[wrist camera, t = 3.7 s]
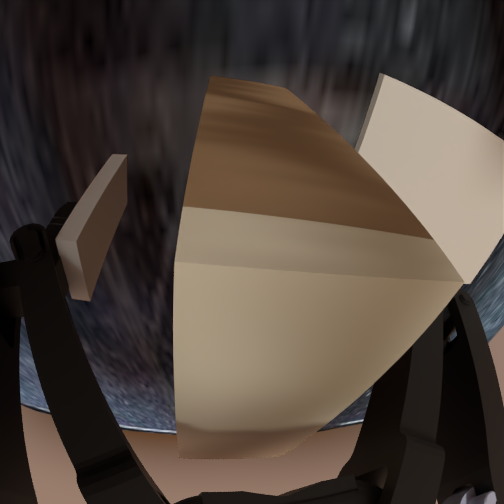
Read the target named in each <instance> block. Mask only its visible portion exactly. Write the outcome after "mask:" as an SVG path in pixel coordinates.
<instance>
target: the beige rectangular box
mask: <svg viewBox="0 0 504 504" xmlns="http://www.w3.org/2000/svg"><path fill="white" fill-rule="evenodd" d="M463 283H464V281H463V279H462V278H461V276H460V275H459V273H458V272H457V270H456V269H455V268H454V266H453V265H452V263H451V262H450V260H449V259H448V258H447V256H446V255H445V254H444V252H443V251H442V249H441V248H440V247H439V245H438V244H437V243H436V241H435V240H434V239H433V238H432V236H431V235H430V234H429V232H428V231H427V230H426V229H425V227H424V226H423V225H422V224H421V222H420V221H419V220H418V219H417V217H416V216H415V215H414V214H413V213H412V211H411V210H410V209H409V208H408V207H407V205H406V204H405V203H404V202H403V201H402V200H401V198H400V197H399V196H398V195H397V194H396V193H395V192H394V190H393V189H392V188H391V187H390V186H389V185H388V184H387V183H386V182H385V181H384V179H383V178H382V177H381V176H380V175H379V174H378V173H377V172H376V171H375V170H374V169H373V168H372V167H371V166H370V165H369V164H368V162H367V161H366V160H365V159H364V158H363V157H362V156H361V155H360V154H359V153H358V152H357V151H356V150H355V149H354V148H353V147H352V146H351V145H350V144H349V143H348V142H346V141H345V140H344V139H343V138H342V137H341V136H340V135H339V134H338V133H337V132H336V131H335V130H334V129H333V128H332V127H331V126H329V125H328V124H327V123H326V122H325V121H324V120H323V119H322V118H321V117H319V116H318V115H317V114H316V113H315V112H314V111H313V110H312V109H310V108H309V107H308V106H307V105H306V104H305V103H303V102H302V101H301V100H300V99H299V98H297V97H296V96H295V95H294V94H293V93H291V92H290V91H289V90H288V89H286V88H283V87H278V86H273V85H268V84H263V83H257V82H251V81H245V80H239V79H233V78H226V77H218V76H210V80H209V84H208V88H207V92H206V96H205V100H204V104H203V108H202V113H201V117H200V121H199V126H198V130H197V135H196V140H195V145H194V149H193V154H192V159H191V164H190V170H189V175H188V180H187V186H186V191H185V197H184V203H183V209H182V215H181V221H180V227H179V234H178V241H177V247H176V255H175V263H174V296H173V359H174V391H175V412H176V428H177V441H178V453H179V458H188V459H244V458H263V457H276V456H283V455H284V454H285V453H287V452H289V451H290V450H291V449H293V448H294V447H296V446H297V445H299V444H300V443H302V442H303V441H304V440H306V439H307V438H308V437H310V436H311V435H312V434H314V433H315V432H316V431H318V430H319V429H320V428H322V427H323V426H324V425H326V424H327V423H328V422H329V421H331V420H332V419H333V418H334V417H336V416H337V415H338V414H339V413H341V412H342V411H343V410H344V409H345V408H347V407H348V406H349V405H350V404H351V403H352V402H354V401H355V400H356V399H357V398H358V397H359V396H360V395H362V394H363V393H364V392H365V391H366V390H367V389H368V388H369V387H370V386H372V385H373V384H374V383H375V382H376V381H377V380H378V379H379V378H380V377H381V376H382V375H383V374H384V373H385V372H386V371H387V370H388V369H389V368H390V367H391V366H392V365H393V364H394V363H395V362H396V361H397V360H398V359H399V358H400V357H401V356H402V355H403V354H404V353H405V352H406V351H407V350H408V349H409V348H410V347H411V346H412V345H413V344H414V343H415V341H416V340H417V339H418V338H419V337H420V336H421V335H422V334H423V333H424V331H425V330H426V329H427V328H428V327H429V326H430V325H431V323H432V322H433V321H434V320H435V319H436V318H437V316H438V315H439V314H440V313H441V311H442V310H443V309H444V308H445V307H446V305H447V304H448V303H449V302H450V300H451V299H452V298H453V296H454V295H455V294H456V293H457V291H458V290H459V289H460V287H461V286H462V285H463Z"/></svg>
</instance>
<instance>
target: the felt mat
mask: <svg viewBox="0 0 504 504" xmlns="http://www.w3.org/2000/svg"><path fill="white" fill-rule="evenodd" d="M355 150H356V151H357V152H358V153H359V154H360V155H361V156H362V157H363V158H364V159H365V160H366V161H367V162H368V164H369V165H370V166H371V167H372V168H373V169H374V170H375V171H376V172H377V173H378V174H379V175H380V176H381V177H382V178H383V179H384V181H385V182H386V183H387V184H388V185H389V186H390V187H391V188H392V189H393V190H394V192H395V193H396V194H397V195H398V196H399V197H400V198H401V200H402V201H403V202H404V203H405V204H406V205H407V207H408V208H409V209H410V210H411V211H412V213H413V214H414V215H415V216H416V217H417V219H418V220H419V221H420V222H421V224H422V225H423V226H424V227H425V229H426V230H427V231H428V232H429V234H430V235H431V236H432V238H433V239H434V240H435V241H436V243H437V244H438V245H439V247H440V248H441V249H442V251H443V252H444V254H445V255H446V256H447V258H448V259H449V260H450V262H451V263H452V265H453V266H454V268H455V269H456V270H457V272H458V273H459V275H460V276H461V278H462V279H463V281H464V283H463V284H470V283H471V281H472V280H473V279H474V277H475V276H476V275H477V273H478V272H479V270H480V269H481V267H482V266H483V265H484V263H485V262H486V260H487V259H488V257H489V256H490V254H491V253H492V251H493V250H494V248H495V247H496V245H497V243H498V242H499V240H500V239H501V237H502V235H503V234H504V141H503V140H502V139H500V138H499V137H498V136H496V135H495V134H493V133H492V132H490V131H489V130H487V129H486V128H484V127H483V126H481V125H480V124H478V123H477V122H475V121H473V120H472V119H470V118H469V117H467V116H465V115H464V114H462V113H460V112H459V111H457V110H455V109H453V108H452V107H450V106H448V105H446V104H444V103H443V102H441V101H439V100H437V99H435V98H433V97H431V96H429V95H427V94H425V93H423V92H421V91H419V90H417V89H415V88H413V87H411V86H409V85H407V84H405V83H402V82H400V81H398V80H396V79H393V78H391V77H389V76H386V75H384V74H381V73H380V74H379V77H378V80H377V84H376V87H375V90H374V93H373V96H372V99H371V102H370V105H369V108H368V111H367V114H366V117H365V120H364V123H363V126H362V129H361V132H360V135H359V138H358V141H357V143H356V146H355Z"/></svg>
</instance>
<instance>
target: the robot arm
mask: <svg viewBox="0 0 504 504" xmlns="http://www.w3.org/2000/svg"><path fill="white" fill-rule="evenodd" d="M126 206H127V155H123V154H112V155H111V157H110V158H109V159H108V160H107V162H106V163H105V164H104V166H103V167H102V168H101V170H100V171H99V173H98V174H97V175H96V177H95V178H94V180H93V181H92V182H91V184H90V185H89V187H88V188H87V190H86V191H85V193H84V194H83V196H82V197H81V199H80V200H79V202H78V203H77V202H67V203H66V204H65V205H63V206H62V207H61V208H59V210H58V211H57V213H56V214H55V215H54V218H52V220H51V221H50V224H49V225H48V226H47V228H46V229H45V228H44V227H43V226H42V225H40V224H28V225H25V226H22V227H20V228H19V229H17V230H16V231H15V232H14V233H13V234H12V236H11V238H10V245H11V248H12V251H13V253H14V256H15V259H16V260H13V261H7V262H1V263H0V504H38V502H37V498H36V494H35V491H34V486H33V482H32V478H31V473H30V469H29V463H28V458H27V452H26V446H25V440H24V432H23V423H22V413H21V400H20V379H19V348H20V326H21V317H24V319H25V324H26V329H27V334H28V339H29V343H30V347H31V351H32V355H33V359H34V363H35V366H36V370H37V373H38V377H39V380H40V383H41V387H42V390H43V393H44V396H45V399H46V402H47V404H48V407H49V410H50V413H51V415H52V418H53V421H54V423H55V425H56V428H57V431H58V433H59V435H60V438H61V440H62V442H63V445H64V447H65V449H66V451H67V453H68V455H69V458H70V460H71V462H72V464H73V466H74V468H75V470H76V473H77V483H78V487H79V489H80V491H81V493H82V495H83V497H84V499H85V501H86V502H87V504H170V503H169V501H168V500H167V499H166V497H165V496H164V495H163V493H162V492H161V491H160V489H159V488H158V486H157V485H156V484H155V483H154V481H153V479H152V478H151V477H150V475H149V474H148V472H147V471H146V470H145V468H144V466H143V465H142V463H141V462H140V460H139V459H138V457H137V456H136V454H135V452H134V451H133V449H132V447H131V445H130V444H129V442H128V441H127V439H126V437H125V435H124V433H123V432H122V430H121V428H120V426H119V424H118V423H117V421H116V419H115V417H114V415H113V413H112V411H111V409H110V407H109V405H108V403H107V401H106V399H105V397H104V395H103V393H102V391H101V389H100V387H99V384H98V382H97V380H96V378H95V376H94V373H93V371H92V369H91V366H90V364H89V362H88V359H87V357H86V354H85V352H84V349H83V347H82V344H81V342H80V339H79V336H78V334H77V331H76V328H75V325H74V322H73V320H72V317H71V314H70V311H69V308H68V304H67V302H66V299H65V296H66V294H67V291H68V289H69V291H70V294H71V297H72V299H77V300H85V301H91V298H92V294H93V291H94V288H95V285H96V282H97V280H98V277H99V274H100V271H101V268H102V265H103V263H104V260H105V257H106V255H107V252H108V249H109V247H110V244H111V242H112V239H113V237H114V234H115V232H116V229H117V227H118V224H119V222H120V220H121V217H122V215H123V213H124V210H125V208H126ZM455 330H456V332H457V336H456V337H455V338H454V339H453V340H452V341H450V336H451V335H452V333H453V332H454V331H455ZM436 499H437V501H438V504H504V407H503V401H502V397H501V392H500V387H499V383H498V378H497V374H496V370H495V366H494V363H493V359H492V355H491V352H490V348H489V346H488V342H487V339H486V335H485V332H484V329H483V326H482V323H481V320H480V317H479V315H478V312H477V309H476V306H475V304H474V302H473V300H472V298H471V297H470V295H469V294H468V293H467V292H466V291H463V290H462V289H459V290H458V291H457V293H456V294H455V295H454V296H453V298H452V299H451V300H450V302H449V303H448V304H447V305H446V307H445V308H444V309H443V310H442V311H441V313H440V314H439V315H438V316H437V318H436V319H435V320H434V321H433V322H432V323H431V325H430V326H429V327H428V328H427V329H426V330H425V331H424V333H423V334H422V335H421V336H420V337H419V338H418V339H417V340H416V341H415V343H414V344H413V345H412V346H411V347H410V348H409V349H408V350H407V351H406V352H405V353H404V354H403V355H402V356H401V357H400V358H399V359H398V360H397V361H396V362H395V363H394V364H393V365H392V366H391V367H390V368H389V369H388V370H387V371H386V372H385V373H384V374H383V375H382V376H381V377H380V378H379V379H378V380H377V381H376V382H375V383H374V385H373V389H372V393H371V397H370V400H369V404H368V407H367V411H366V414H365V418H364V421H363V424H362V428H361V431H360V434H359V437H358V440H357V443H356V446H355V449H354V452H353V454H352V456H351V458H350V460H349V461H348V462H347V463H346V464H345V466H343V468H342V470H341V471H340V473H339V475H338V477H337V478H336V479H331V480H326V481H321V482H318V483H315V484H312V485H309V486H306V487H302V488H299V489H296V490H292V491H289V492H287V493H284V494H282V495H279V496H273V495H264V494H257V493H251V492H244V491H238V492H202V493H200V494H199V495H198V496H194V497H190V498H187V499H184V500H181V501H179V502H177V503H174V504H435V503H436Z"/></svg>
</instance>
